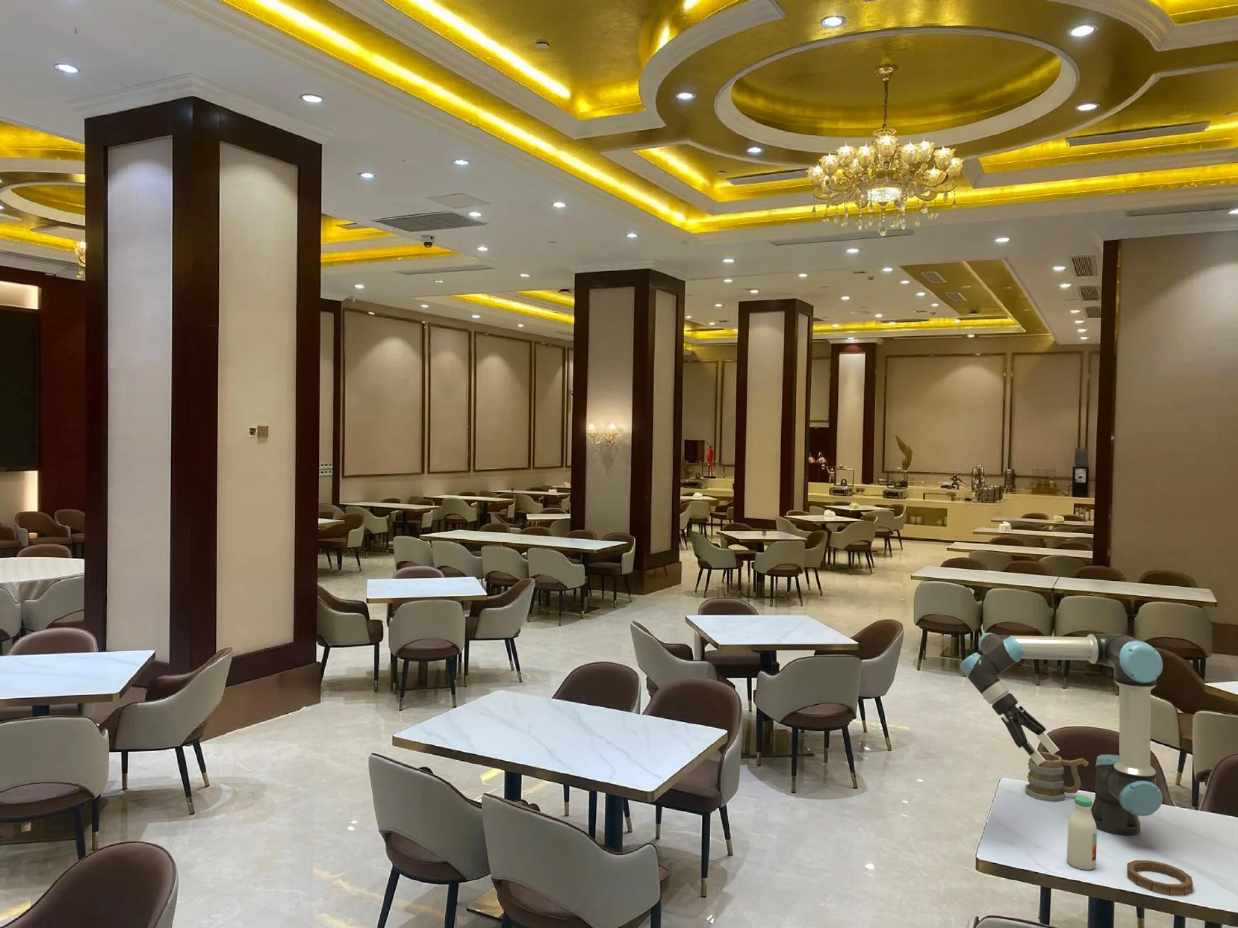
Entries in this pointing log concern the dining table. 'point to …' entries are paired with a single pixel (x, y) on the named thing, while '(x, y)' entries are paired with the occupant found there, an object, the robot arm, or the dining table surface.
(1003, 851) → the dining table surface
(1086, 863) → the milk bottle
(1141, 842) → the dining table surface
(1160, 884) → the walnut ring
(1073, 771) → the tankard
